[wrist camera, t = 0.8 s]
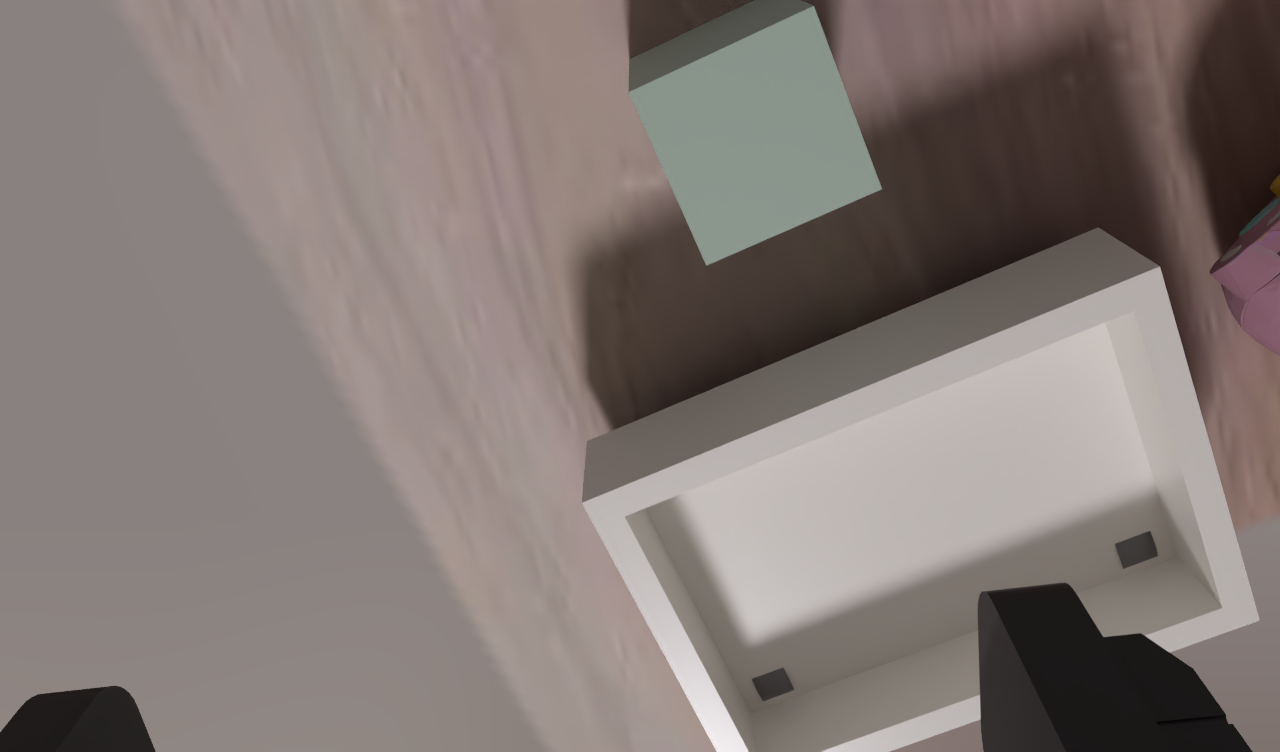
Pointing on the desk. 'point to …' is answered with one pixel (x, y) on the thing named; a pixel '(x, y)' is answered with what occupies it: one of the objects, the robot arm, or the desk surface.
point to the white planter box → (922, 503)
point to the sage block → (751, 125)
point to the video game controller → (1255, 275)
